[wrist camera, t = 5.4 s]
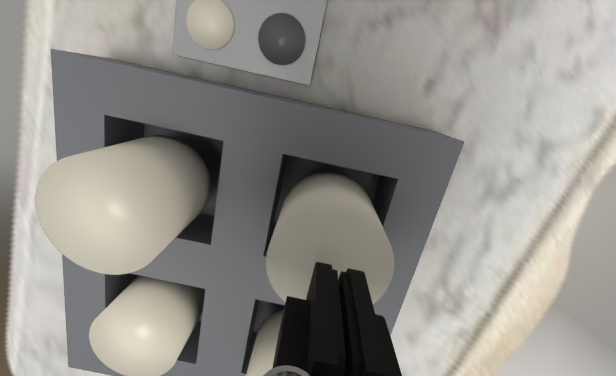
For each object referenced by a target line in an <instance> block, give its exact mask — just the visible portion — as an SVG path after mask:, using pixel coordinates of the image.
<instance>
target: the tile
mask: <svg viewBox="0 0 616 376" xmlns="http://www.w3.org/2000/svg"><path fill="white" fill-rule="evenodd" d="M326 4H327V0H176V14H175V29H174V45H173V55H177V56H181V57H186V58H190V59H195V60H199V61H203V62H208V63H212V64H217V65H221V66H226V67H230V68H234V69H239V70H243V71H248V72H252V73H257V74H261V75H265V76H270V77H274V78H279V79H283V80H288V81H292V82H296V83H301V84H305V85H310V83H311V78H312V73H313V68H314V63H315V58H316V53H317V48H318V43H319V39H320V34H321V29H322V24H323V19H324V14H325V9H326Z"/></svg>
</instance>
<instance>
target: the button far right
mask: <svg viewBox="0 0 616 376" xmlns="http://www.w3.org/2000/svg"><path fill="white" fill-rule="evenodd" d="M283 311H284V310H282V311H279V312H276V313H274V314H272V315H270V316H269V317H267V318H266V319H265V320H264V321H263V322H262V324H261V325H260V327H259V329H258V332H257V336H256V340H255V343H254V347H253V351H252V355H251V358H250V362H249V366H248V370H247V374H246V376H263V375H264V374H266V373H267V372H268V371H269V370H270V369H272V368H273V362H274V356H275V351H276V345H277V340H278V334H279V329H280V324H281V320H282V315H283Z"/></svg>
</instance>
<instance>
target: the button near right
mask: <svg viewBox="0 0 616 376" xmlns="http://www.w3.org/2000/svg"><path fill="white" fill-rule="evenodd" d="M316 262H321V263H326V264H331V265H332V269H334V270H337V273H338V279H339V276H340V273H341V271H343V272H346V271H347V269H348V268H350V269H354V270H359V271H363V272H364V273H365V276H366V280H367V284H368V288H369V292H370V296H371V300H372V303H373V304H375V303H376V302H377V301H378V300H379V299H380V298H381V297H382V295H383V294H384V293H385V291H386V290H387V288H388V287H389V284H390V282H391V280H392V276H393V272H394V255H393V250H392V247H391V244H390V242H389V240H388V237H387V235H386V233H385V231H384V229H383V227H382V224H381V222H380V220H379V218H378V216H377V214H376V211H375V209H374V207H373V205H372V203H371V200H370V198H369V196H368V194H367V193H366V191H365V190H364V189H363V188H362V186H361V185H360V184H358V183H357V182H356V181H355V180H353V179H351V178H350V177H347V176H345V175H342V174H339V173H333V172H322V173H316V174H312V175H310V176H307V177H305V178H303V179H302V180H300V181H299V182H297V183H296V184H295V185H294V186H293V187H292V188H291V190H290V191H289V192H288V194H287V196H286V198H285V200H284V203H283V206H282V209H281V212H280V215H279V218H278V221H277V224H276V227H275V229H274V232H273V235H272V238H271V241H270V244H269V247H268V251H267V256H266V270H267V275H268V278H269V281H270V283H271V285H272V287H273V289H274V291H275V292H276V293H277V295H278V296H279V297H280V298H281V299H282V300H283V301H284V302H286V298H287V296H290V297H295V298H300V299H304V300H306V297H307V293H308V290H309V286H310V282H311V278H312V274H313V270H314V266H315V263H316Z"/></svg>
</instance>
